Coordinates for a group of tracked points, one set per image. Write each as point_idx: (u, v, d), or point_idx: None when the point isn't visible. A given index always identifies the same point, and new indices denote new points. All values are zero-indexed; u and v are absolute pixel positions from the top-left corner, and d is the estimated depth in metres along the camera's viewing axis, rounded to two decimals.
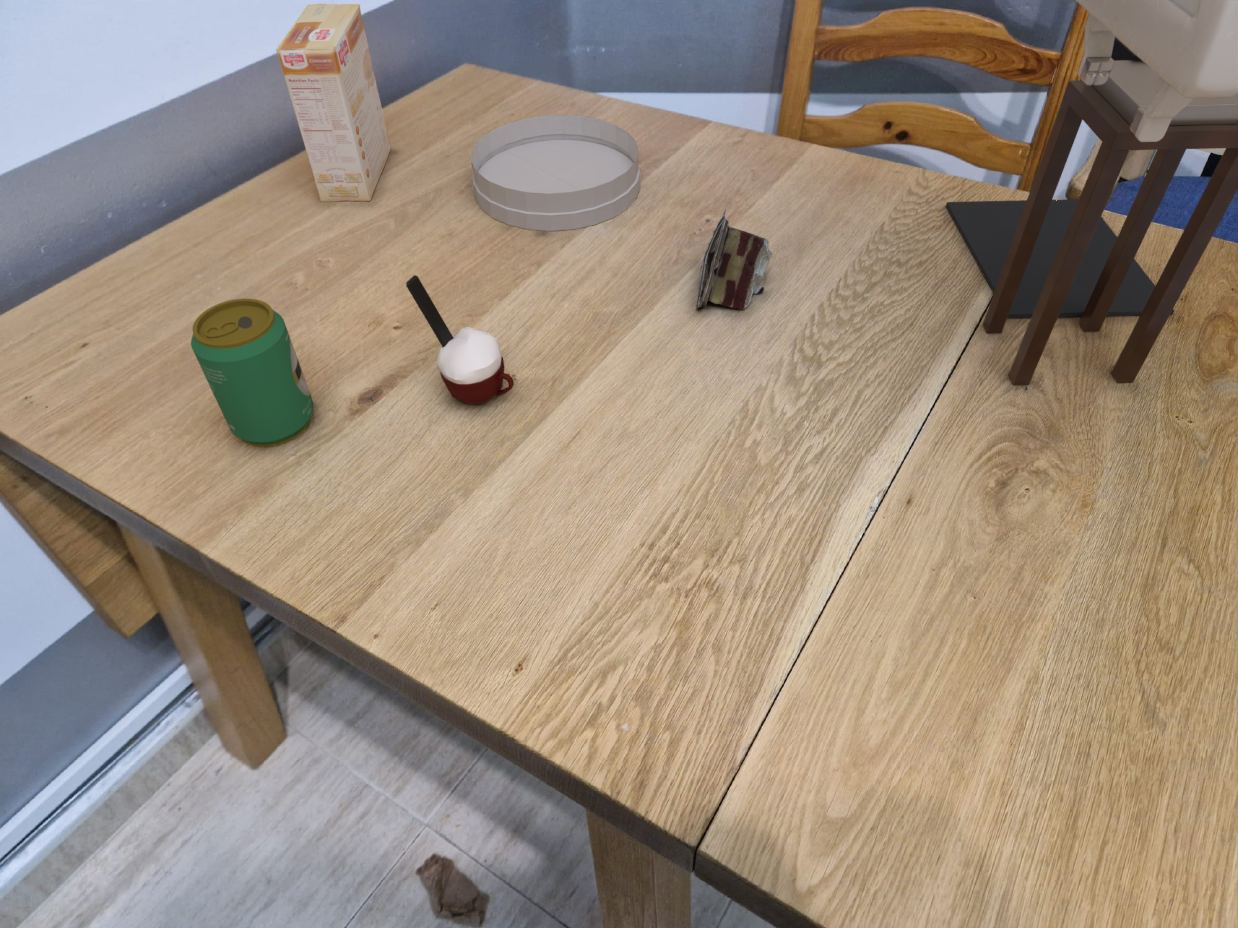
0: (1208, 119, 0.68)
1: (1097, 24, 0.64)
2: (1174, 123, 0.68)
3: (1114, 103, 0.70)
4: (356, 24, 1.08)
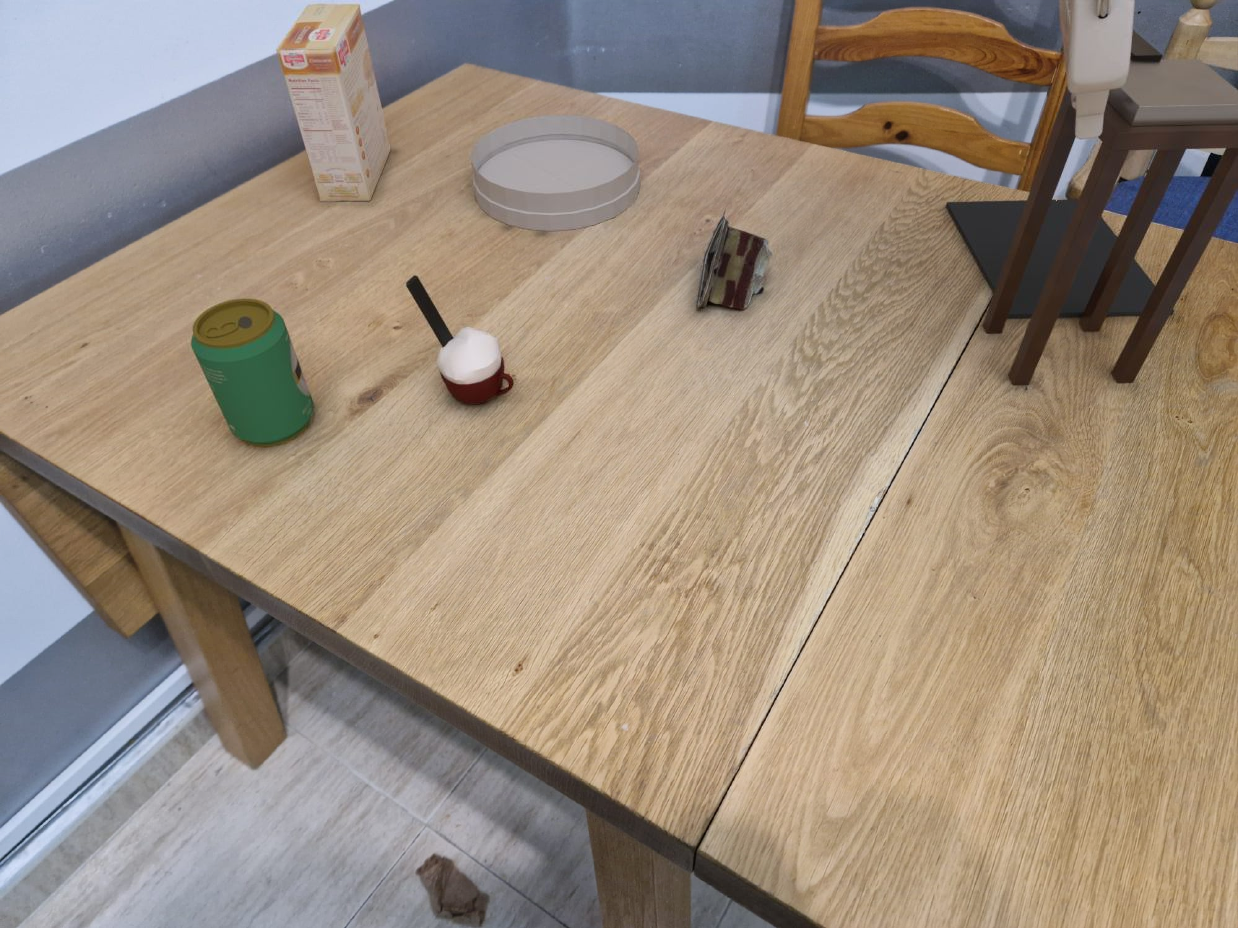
0: (1208, 119, 0.68)
1: None
2: (1174, 123, 0.68)
3: (1114, 103, 0.70)
4: (356, 24, 1.08)
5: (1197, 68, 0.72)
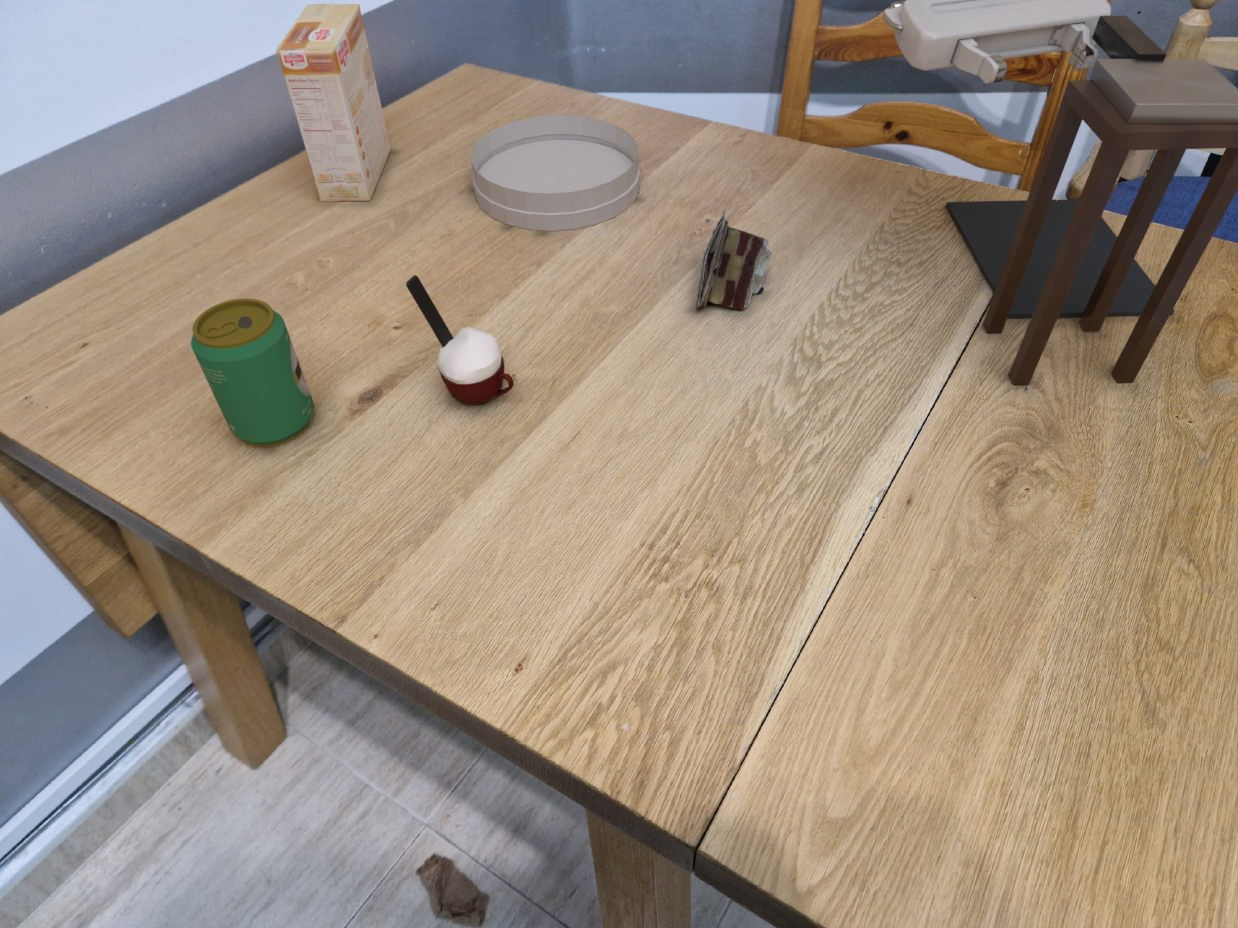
0: (1206, 118, 0.68)
1: (1065, 47, 0.83)
2: (1172, 121, 0.68)
3: (1113, 101, 0.71)
4: (356, 24, 1.08)
5: (1201, 67, 0.72)
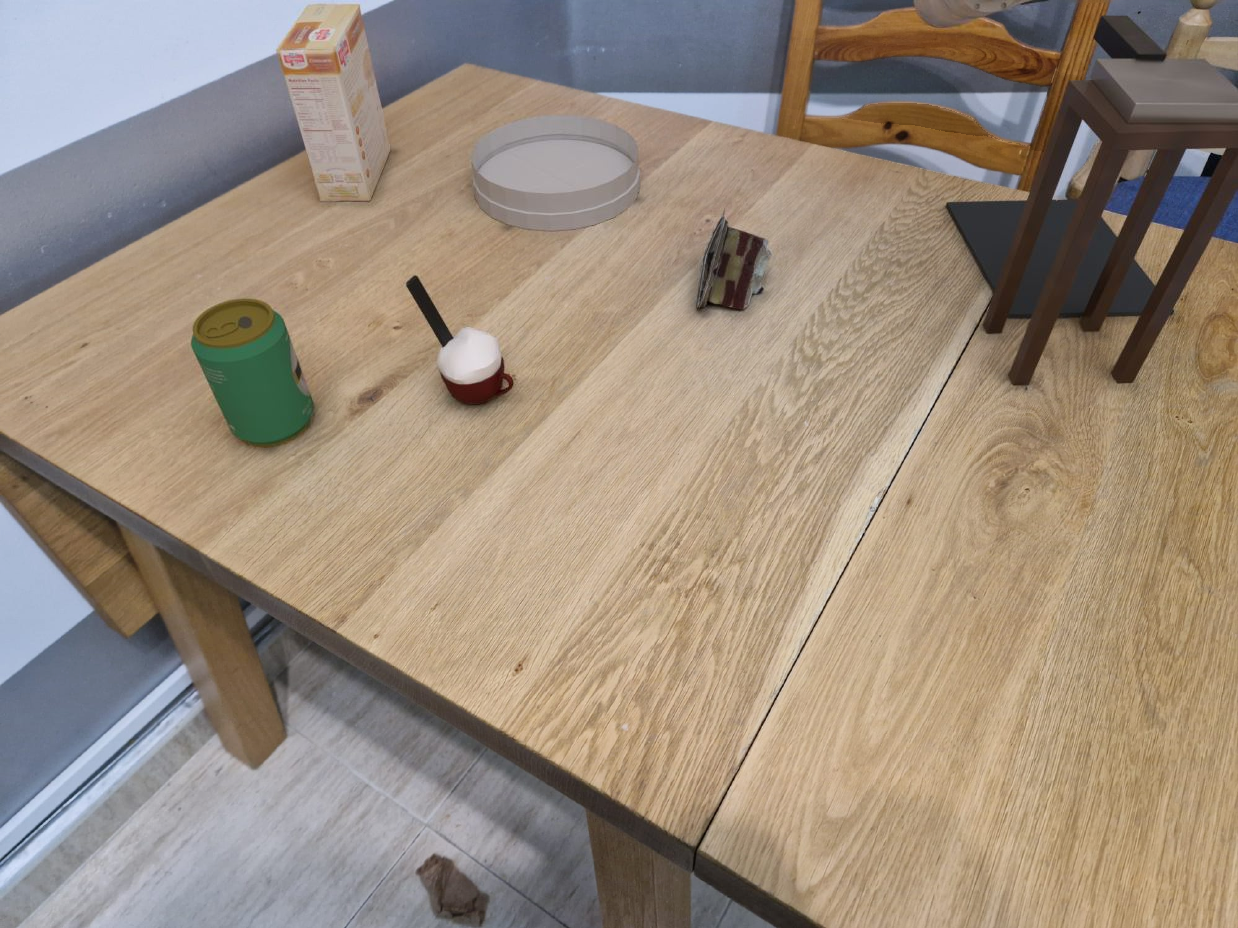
0: (1206, 118, 0.68)
1: None
2: (1171, 121, 0.68)
3: (1113, 100, 0.71)
4: (356, 24, 1.08)
5: (1201, 67, 0.72)
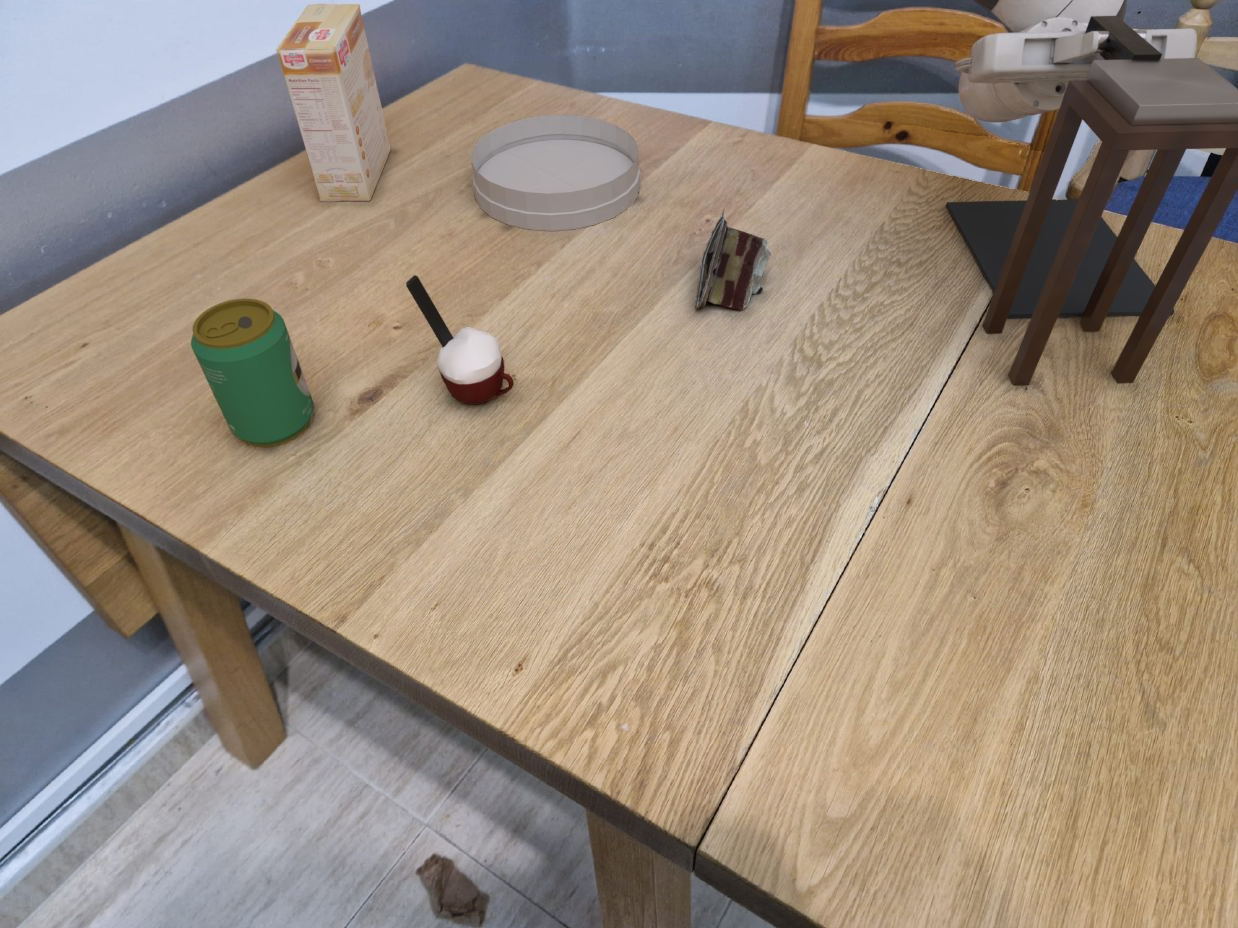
0: (1208, 118, 0.68)
1: None
2: (1174, 122, 0.68)
3: (1114, 102, 0.70)
4: (356, 24, 1.08)
5: (1197, 67, 0.72)
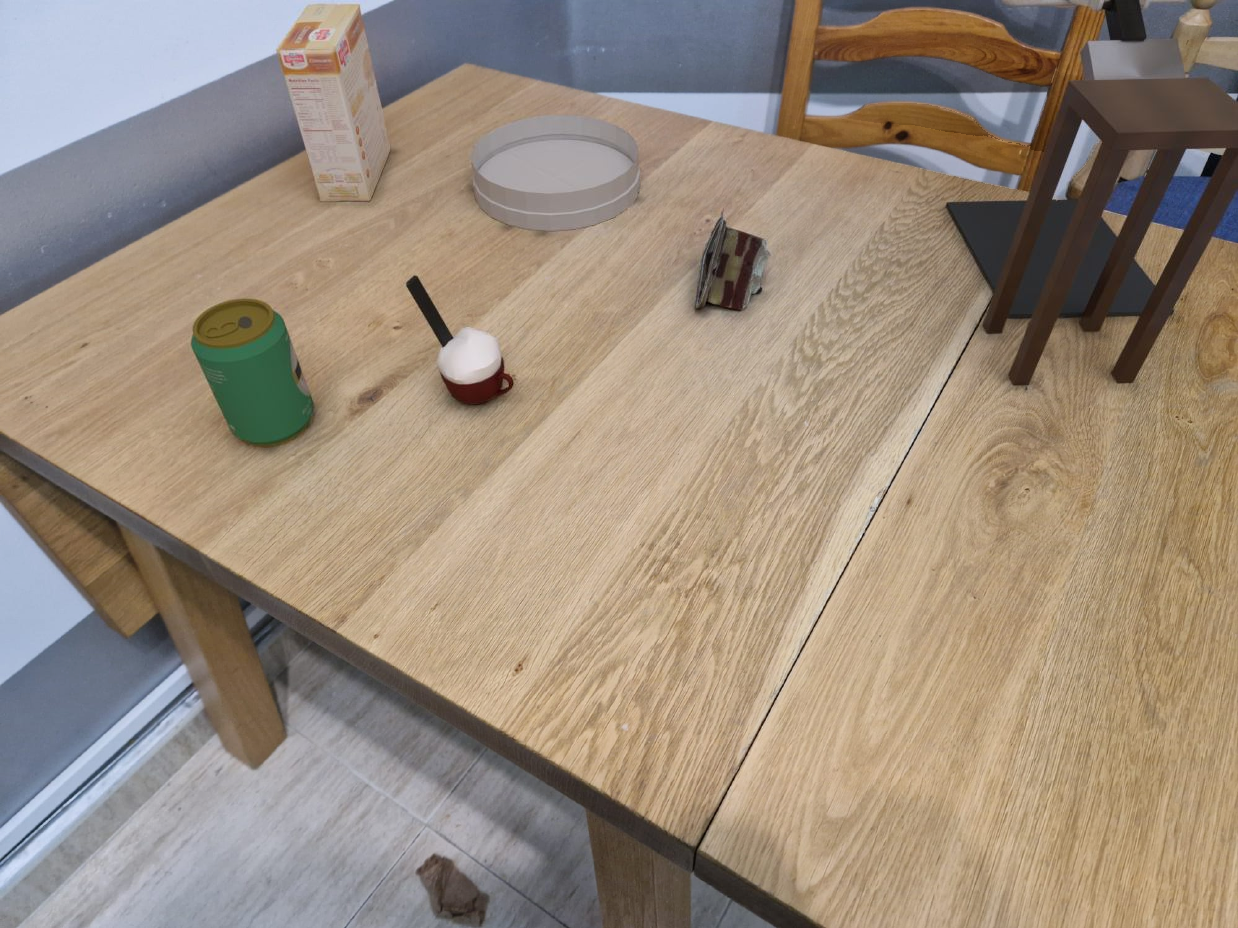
0: None
1: None
2: None
3: None
4: (356, 24, 1.08)
5: (1170, 55, 0.86)
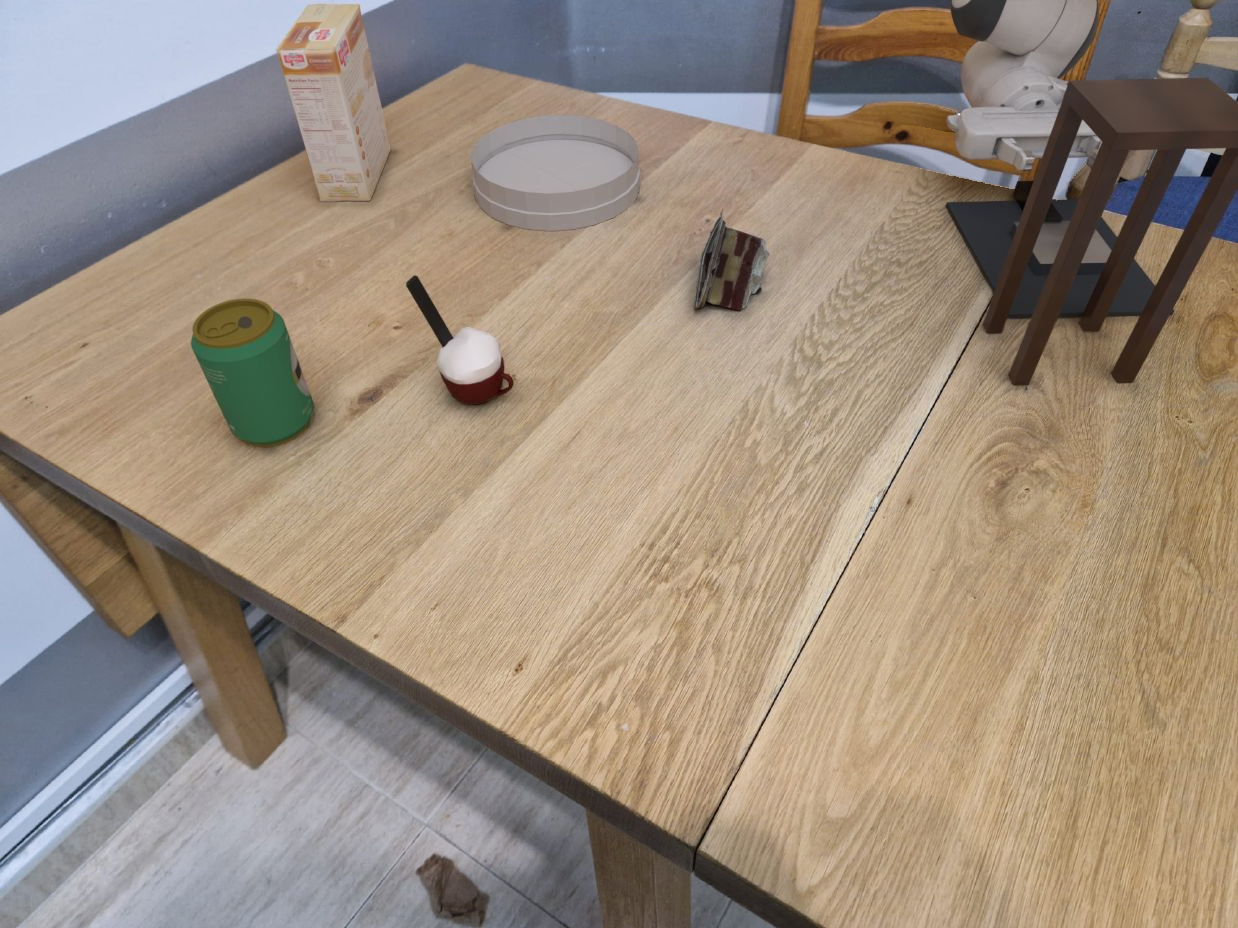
0: (1088, 271, 0.98)
1: (1088, 154, 1.04)
2: None
3: None
4: (356, 24, 1.08)
5: None
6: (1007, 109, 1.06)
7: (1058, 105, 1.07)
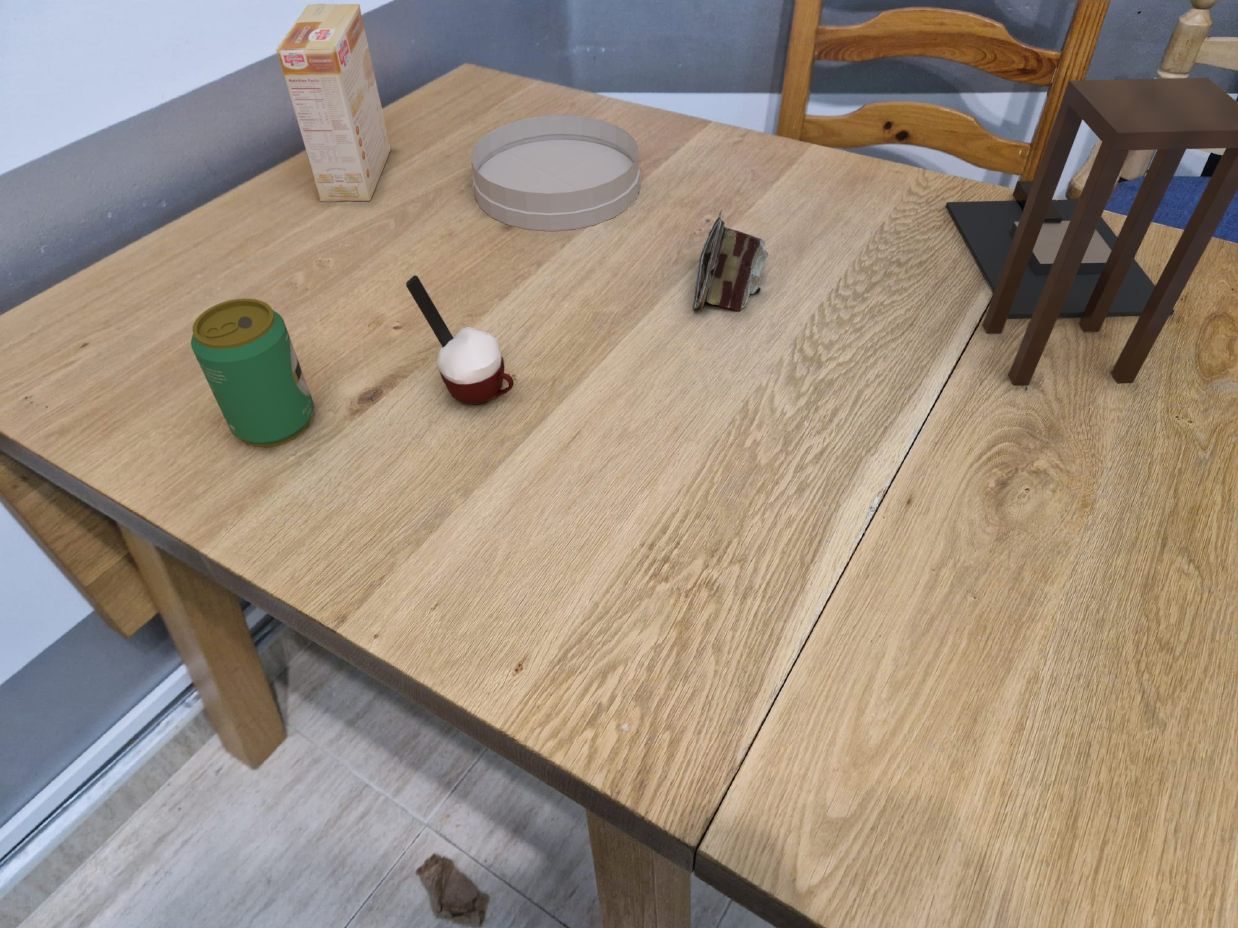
0: (1088, 271, 0.98)
1: None
2: None
3: None
4: (356, 24, 1.08)
5: None
6: None
7: None
